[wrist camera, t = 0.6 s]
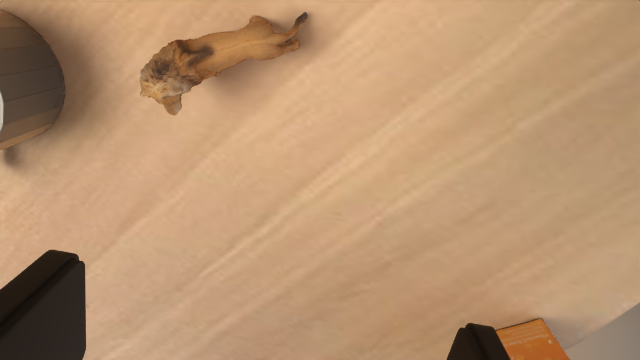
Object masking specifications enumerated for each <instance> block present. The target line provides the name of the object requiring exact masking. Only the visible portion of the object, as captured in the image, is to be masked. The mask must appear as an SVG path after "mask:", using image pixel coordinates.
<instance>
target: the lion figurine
mask: <svg viewBox="0 0 640 360" xmlns="http://www.w3.org/2000/svg"><path fill="white" fill-rule="evenodd" d="M307 16H308V15H307V13H306V12H305V13H303V14H302V15H301V16H299V17H298V18H297V19H296V21H295V24H294V26H293V27H292V29H291V30H290V31H288V32H286V33H281V34H277V33H274V31H273V29H272V27H270V25H271V24H270V22H269V21H266V20H264V19H263V18H261V17H259V16H252V17H251V19H250V23H249V24H247V25H246V26H245V27H244V28H242V29H240V30H238V31H231V32H220V33H213V34H208V35H205V36H202V37H200V38H198V39H194V40H193V39H188V40H185V41H184V40H175V41H172V42H171V43H168V45H167V46H166V47H163V48H162V49H161V50H160V52H159V53H157V54H155V55H154V56H153V59H151V60H150V61H149V63H147V64H146V65H145V66H144V68H143V69H142V70H141V71H140V74H141V77H140V83H141V88H142V91H141V93H140V96H142V97H143V96H147V97H152V98H154V99H155V100H156V101H157V102H158V103H160V104H163V105H164V107H165V109H166V111H167V112H168V113H169V114H171V115H176V114H177V113H178V111H180V110H181V108H182V104H181V95H182V94H183V93H186V92H189V91H190V90H191V88H192V87H193V86H196V85H198V84H200V83H201V82H202V81H203V80H204V79H207V78H209V77H212V76H215V77H217V76H218V75H219V74H220V71H221V70H223V69H226V68H229V67H231V66H233V65H235V64H237V63H238V62H240V61H242V60H244V59H245V58H250V59H256V60H267V59H274V58H276V57H278V56H280V55H282V54H284V53H286V52H288V51H294V50H296V49H297V48H298V47H299V41H298V39H295V38H292V37H293V36H294V35H295V34H296V32H297V30H298V28H299V26H300V25H301V24H302V23H304V21H305V20H306V19H307ZM290 38H292V39H290ZM288 39H289V40H288ZM286 40H287V41H286ZM283 41H286V44H284V45H277V44H279V43H281V42H283Z"/></svg>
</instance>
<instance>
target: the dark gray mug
mask: <svg viewBox="0 0 640 360" xmlns="http://www.w3.org/2000/svg"><path fill="white" fill-rule="evenodd" d="M64 97H65V85H64V78H63V74H62V70H61V68H60V65H59V62H58V60H57V58H56V56H55V54H54V53H53V51H52V49H51V48H50V46H49V45H48V44H47V42H46V41H45V40H44V39H43V37H42V36H41V35H40V34H39V33H38V32H37V31H36V30H34V29H33V28H32V27H31V26H30V25H28V24H27V23H26V22H24V21H22V20H21V19H19V18H18V17H16V16H14V15H12V14H10V13H7V12H4V11H2V10H0V150H3V149H5V148H8V147H10V146H12V145H15V144H17V143H20V142H22V141H25V140H27V139H30V138H32V137H35V136H37V135H40V134H41V133H43V132H44V131H46V130H47V129H48V128H50V127H51V126H52V125H53V124H54V122H55V121H56V119H57V118H58V116H59V114H60V112H61V110H62V107H63V103H64Z"/></svg>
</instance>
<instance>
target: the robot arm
mask: <svg viewBox="0 0 640 360" xmlns="http://www.w3.org/2000/svg"><path fill="white" fill-rule="evenodd" d="M85 350H86V309H85V264H84V262H83V261H79V257H78V255H77V254H74V253H68V252H63V251H57V250H49V251H47V252H46V253H44V254H43V255H42V256H41V257H40V258H38V259H37V260H36V261H35V262H33V263H32V264H31V265H30V266H29V267H27V268H26V269H25V270H24V271H23V272H21V273H20V274H19V275H18V276H17V277H15V278H14V279H13V280H12V281H10V282H9V283H8V284H7V285H6V286H4V287H3V288H2V289H1V290H0V360H82V359H83V357H84V354H85ZM447 360H511V359H510V357H509V355H508V353H507V352H506V350H505V348H504V346H503V344H502V342H501V340H500V338H499V336H498V335H497V333H496V331H495V330H494V328H492V327H490V326H484V325H479V324H473V323H468V324H467V325H466V327H465V328H460V329H459V330H458V332H457V334H456V337H455V340H454V342H453V345H452V347H451V350H450V352H449V355H448V357H447Z"/></svg>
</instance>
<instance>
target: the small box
mask: <svg viewBox="0 0 640 360" xmlns="http://www.w3.org/2000/svg"><path fill="white" fill-rule="evenodd" d="M496 333H497V335H498V336H499V338H500V340H501V342H502V344H503V346H504V348H505V350H506V352H507V353H508V355H509V357H510V359H511V360H570V359H569V357H568V356H567V355H566V353H565V351H564V350H563V348H562V347H561V345H560V344H559V342H558V341H557V340H556V338H555V337H554V335H553V334H552V332H551V331H550V329H549V328H548V327H547V325H546V324H545V322H544V321H543V319H538V320H535V321H531V322H528V323H524V324H520V325H517V326H513V327H509V328H505V329H501V330H497V331H496Z"/></svg>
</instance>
